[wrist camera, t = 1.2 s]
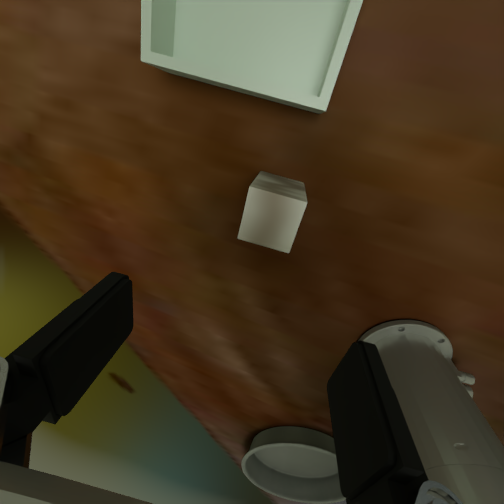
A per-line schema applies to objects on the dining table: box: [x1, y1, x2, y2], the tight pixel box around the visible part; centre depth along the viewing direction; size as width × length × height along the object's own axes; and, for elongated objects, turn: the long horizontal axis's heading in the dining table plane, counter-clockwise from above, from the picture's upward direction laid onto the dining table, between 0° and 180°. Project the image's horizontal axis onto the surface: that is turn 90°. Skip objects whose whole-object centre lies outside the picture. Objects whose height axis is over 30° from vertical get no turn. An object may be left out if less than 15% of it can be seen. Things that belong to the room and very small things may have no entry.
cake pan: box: [242, 426, 346, 504], centre depth 52 cm, size 25×25×4 cm
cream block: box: [237, 171, 307, 253], centre depth 25 cm, size 5×5×8 cm
